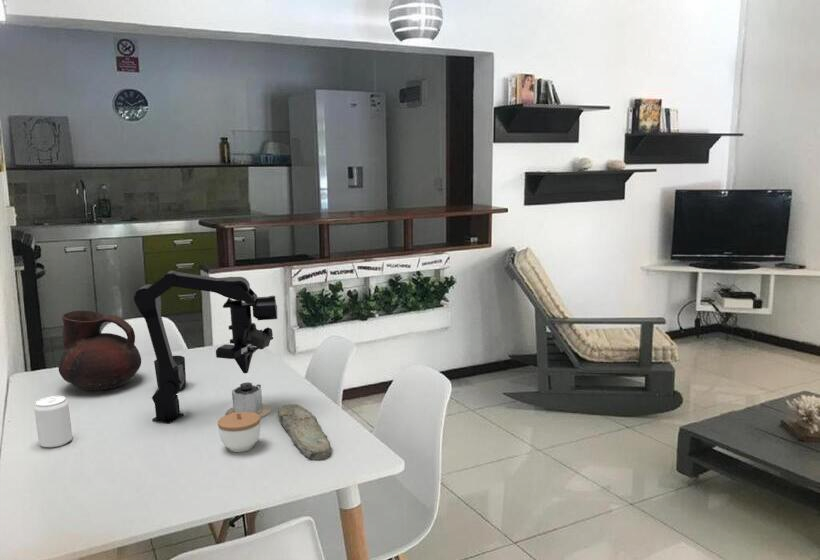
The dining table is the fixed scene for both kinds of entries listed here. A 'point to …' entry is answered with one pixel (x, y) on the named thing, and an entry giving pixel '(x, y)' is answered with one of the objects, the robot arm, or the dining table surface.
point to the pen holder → (178, 361)
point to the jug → (97, 352)
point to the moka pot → (249, 401)
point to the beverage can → (53, 421)
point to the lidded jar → (239, 430)
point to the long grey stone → (304, 431)
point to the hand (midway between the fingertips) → (245, 373)
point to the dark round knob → (246, 387)
